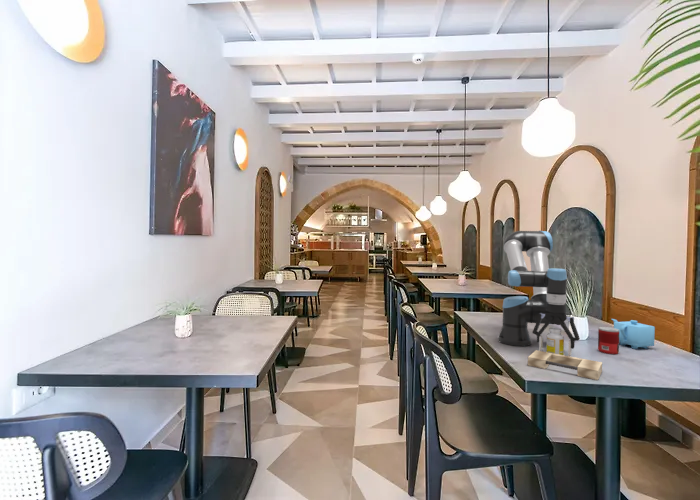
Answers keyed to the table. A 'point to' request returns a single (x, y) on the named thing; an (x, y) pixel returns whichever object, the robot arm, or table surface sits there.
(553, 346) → the supplement bottle
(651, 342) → the teapot
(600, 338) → the canned food
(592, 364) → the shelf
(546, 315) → the robot arm
